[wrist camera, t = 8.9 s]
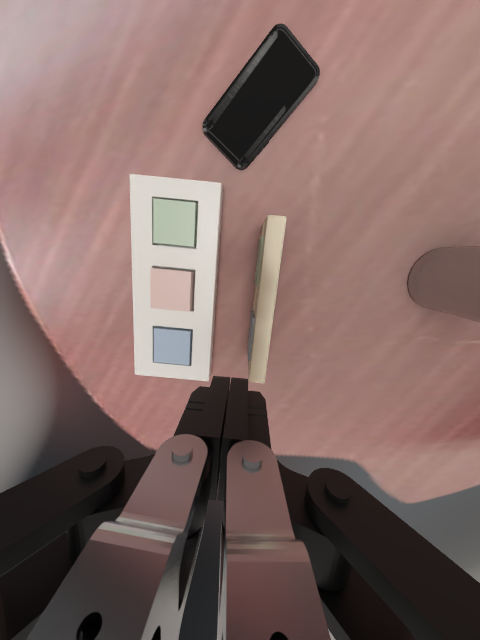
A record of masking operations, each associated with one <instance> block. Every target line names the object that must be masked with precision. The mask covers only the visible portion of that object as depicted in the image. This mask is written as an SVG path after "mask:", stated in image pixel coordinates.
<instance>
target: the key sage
mask: <svg viewBox="0 0 480 640" xmlns="http://www.w3.org/2000/svg"><path fill="white" fill-rule="evenodd" d="M197 222H198V205H197V204H196V203H195V202H185V201H175V200H164V199H154V198H153V243H158V244H166V245H177V246H187V247H196V246H197Z"/></svg>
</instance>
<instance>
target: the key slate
mask: <svg viewBox="0 0 480 640" xmlns="http://www.w3.org/2000/svg"><path fill="white" fill-rule="evenodd" d="M192 340H193V329H184V328H173V327H163V326H156V327H155V328H154V362H160V363H171V364H182V365H189V364H190V363H191V361H192Z"/></svg>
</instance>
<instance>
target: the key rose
mask: <svg viewBox="0 0 480 640" xmlns="http://www.w3.org/2000/svg"><path fill="white" fill-rule="evenodd" d="M194 283H195V271H190V270H179V269H169V268H158V267H157V268H150V299H151V308H156V309H167V310H177V311H188V312H190V311H191V310H192V309H193V307H194Z"/></svg>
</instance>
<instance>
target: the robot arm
mask: <svg viewBox="0 0 480 640" xmlns="http://www.w3.org/2000/svg"><path fill="white" fill-rule="evenodd" d="M408 289H409V293H410V295H411V297H412V299H413V300H414V301H415V302H416V303H417V304H419V305H421V306H423V307H426V308H430V309H434V310H437V311H441V312H444V313H448V314H452V315H455V316H459V317H463V318H466V319H470V320H474V321H477V322H480V246H467V247H448V248H438V249H435V250H432V251H430V252H428V253H426V254H425V255H424V256H422V257H421V258H420V259H419V260H418V261H417V262H416V263H415V265H414V266H413V268H412V270H411V272H410V275H409V279H408ZM229 388H230V391H229ZM219 474H220V481H219ZM218 481H219V495H218V500H222V501H224V502H223V514H222V515H223V516H222V527H221V549H220V550H221V551H220V578H219V606H218V631H217V632H218V633H217V640H331V639H330V635H329V631H330V632H331V633H332V635H333V636H334V638H335V639H336V640H480V583H479V582H478V581H476V580H475V579H474V578H472V577H471V576H470V575H469V574H468V573H466V572H465V571H464V570H463V569H462V568H460V567H459V566H458V565H457V564H455V563H454V562H453V561H452V560H451V559H449V558H448V557H447V556H446V555H444V554H443V553H442V552H441V551H440V550H438V549H437V548H436V547H434V546H433V545H432V544H431V543H430V542H428V541H427V540H426V539H425V538H424V537H422V536H421V535H420V534H418V533H417V532H416V531H415V530H414V529H412V528H411V527H410V526H409V525H408V524H406V523H405V522H404V521H403V520H401V519H400V518H399V517H398V516H397V515H395V514H394V513H393V512H392V511H390V510H389V509H388V508H387V507H385V506H384V505H383V504H382V503H381V502H379V501H378V500H377V499H376V498H374V497H373V496H372V495H371V494H369V493H368V492H367V491H366V490H365V489H363V488H362V487H361V486H360V485H358V484H357V483H356V482H355V481H354V480H352V479H351V478H350V477H348V476H347V475H345V474H344V473H342V472H340V471H337V470H334V469H330V468H320V469H317V470H315V471H313V472H312V473H311V474H310V476H309V477H306V476H304V475H301V474H299V473H296V472H294V471H291V470H289V469H288V468H286V467H285V466H283V465H282V464H281V463H280V462H279V461H278V460H277V459H276V456H275V454H274V453H273V451H272V450H271V443H270V435H269V426H268V418H267V410H266V401H265V398H264V397H263V396H262V394H261V393H260V392H256V391H248V379H243V378H231V384H230V377H220V376H213V379H212V382H211V385H210V387H201V386H200V387H198V388H197V389H196V390H195V391H194V392H192V394H191V396H190V399H189V401H188V403H187V406H186V408H185V410H184V413H183V415H182V417H181V420H180V422H179V424H178V427H177V429H176V431H175V434H174V436H173V437H171V438H169V439H168V440H166V441H165V442H164V443H163V444H162V445H161V446H160V447H159V449H158V450H157V452H156V453H155V454H153V455H150V456H148V457H143V458H137V459H131V460H126V461H124V455H123V453H122V452H121V451H120V450H119V449H117V448H115V447H111V446H101V447H96V448H92V449H89V450H87V451H85V452H82V453H81V454H79V455H76V456H74V457H72V458H71V459H68V460H66V461H64V462H62V463H60V464H58V465H56V466H54V467H52V468H50V469H48V470H46V471H44V472H42V473H41V474H38V475H36V476H34V477H32V478H30V479H28V480H26V481H24V482H22V483H20V484H18V485H16V486H14V487H12V488H10V489H8V490H6V491H4V492H2V493H0V575H2V574H3V573H5V572H6V571H8V570H9V569H11V568H12V567H14V566H15V565H16V564H18V563H19V562H21V561H22V560H24V559H25V558H27V557H28V556H30V555H31V554H32V553H34V552H35V551H37V550H38V549H40V548H41V547H43V546H44V545H46V544H47V543H49V542H50V541H51V540H53V539H54V538H56V537H57V536H59V535H60V534H62V533H63V532H65V531H66V532H65V533H64V534H62V535H61V536H60V537H58V538H56V539H55V540H54V541H52V542H51V543H49V544H48V545H46V546H45V547H44V548H42V549H41V550H39V551H38V552H36V553H35V554H33V555H32V556H30V557H29V558H27V559H26V560H25V561H23V562H22V563H20V564H19V565H17V566H16V567H14V568H13V569H11V570H10V571H9V572H7V573H6V574H4V575H3V576H1V577H0V640H178V637H179V630H180V625H181V620H182V615H183V611H184V607H185V603H186V599H187V595H188V590H189V586H190V582H191V578H192V573H193V569H194V565H195V561H196V557H197V552H198V548H199V544H200V539H201V536H202V531H203V526H204V520H205V517H206V513H207V507H208V501H209V499H210V500H216V496H217V489H218ZM328 629H329V631H328Z"/></svg>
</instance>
